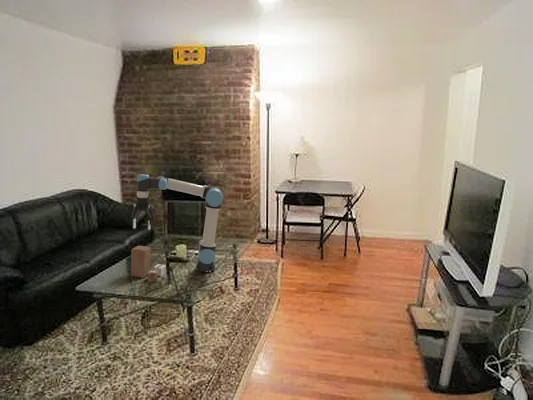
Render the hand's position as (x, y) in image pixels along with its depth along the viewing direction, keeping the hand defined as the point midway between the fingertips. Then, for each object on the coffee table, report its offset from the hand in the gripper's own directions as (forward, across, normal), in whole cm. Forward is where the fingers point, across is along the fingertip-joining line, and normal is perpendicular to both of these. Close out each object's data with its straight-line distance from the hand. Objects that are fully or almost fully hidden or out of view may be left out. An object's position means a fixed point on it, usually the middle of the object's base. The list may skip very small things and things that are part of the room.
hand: (141, 228), depth 257 cm
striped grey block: (+34, -12, -5) cm, 36 cm away
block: (+34, 0, 0) cm, 34 cm away
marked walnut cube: (+34, -11, +7) cm, 36 cm away
